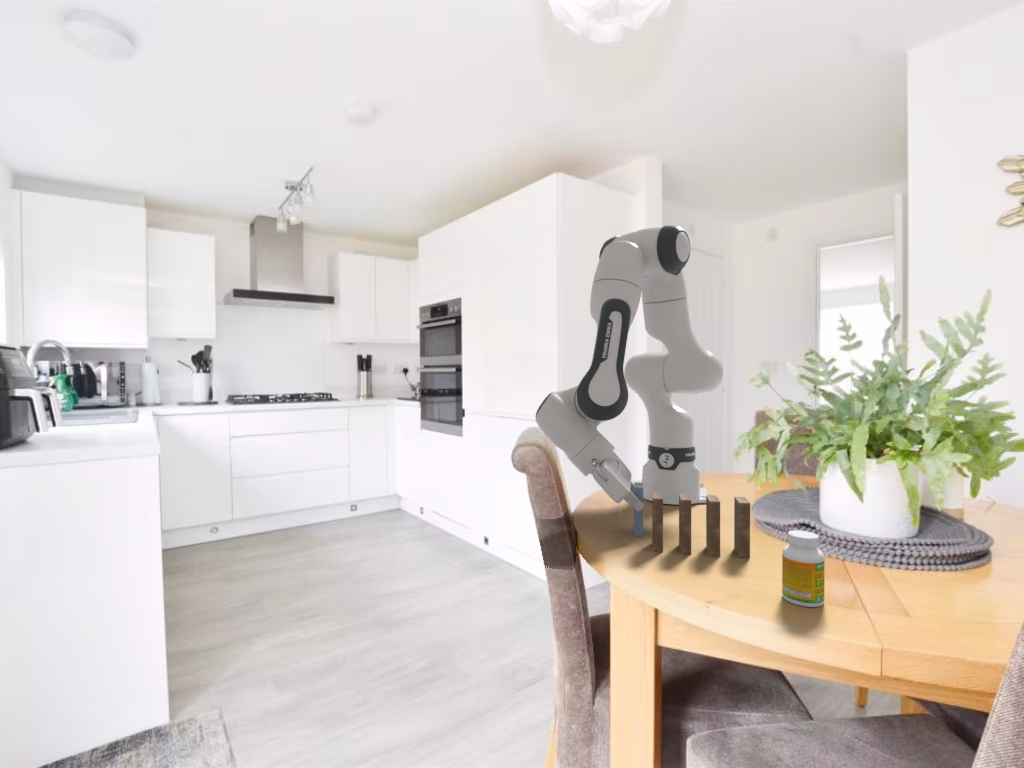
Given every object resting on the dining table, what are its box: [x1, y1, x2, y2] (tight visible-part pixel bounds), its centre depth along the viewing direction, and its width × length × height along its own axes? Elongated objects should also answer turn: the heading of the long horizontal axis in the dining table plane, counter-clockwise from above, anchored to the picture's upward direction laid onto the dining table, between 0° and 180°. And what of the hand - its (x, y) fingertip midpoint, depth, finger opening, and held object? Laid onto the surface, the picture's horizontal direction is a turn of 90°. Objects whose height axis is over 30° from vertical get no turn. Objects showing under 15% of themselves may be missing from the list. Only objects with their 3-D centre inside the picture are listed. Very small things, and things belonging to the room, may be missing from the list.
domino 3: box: [678, 494, 692, 555], centre depth 98 cm, size 2×5×10 cm, turn 166°
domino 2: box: [651, 493, 664, 553], centre depth 99 cm, size 2×5×10 cm, turn 166°
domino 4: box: [705, 494, 721, 557], centre depth 97 cm, size 2×5×10 cm, turn 166°
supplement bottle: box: [781, 529, 825, 608], centre depth 76 cm, size 5×5×10 cm
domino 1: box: [633, 482, 644, 537], centre depth 109 cm, size 2×5×10 cm, turn 166°
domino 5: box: [733, 495, 751, 560], centre depth 96 cm, size 2×5×10 cm, turn 166°
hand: (641, 504), depth 109 cm, fingers closed on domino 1, 5 cm apart
